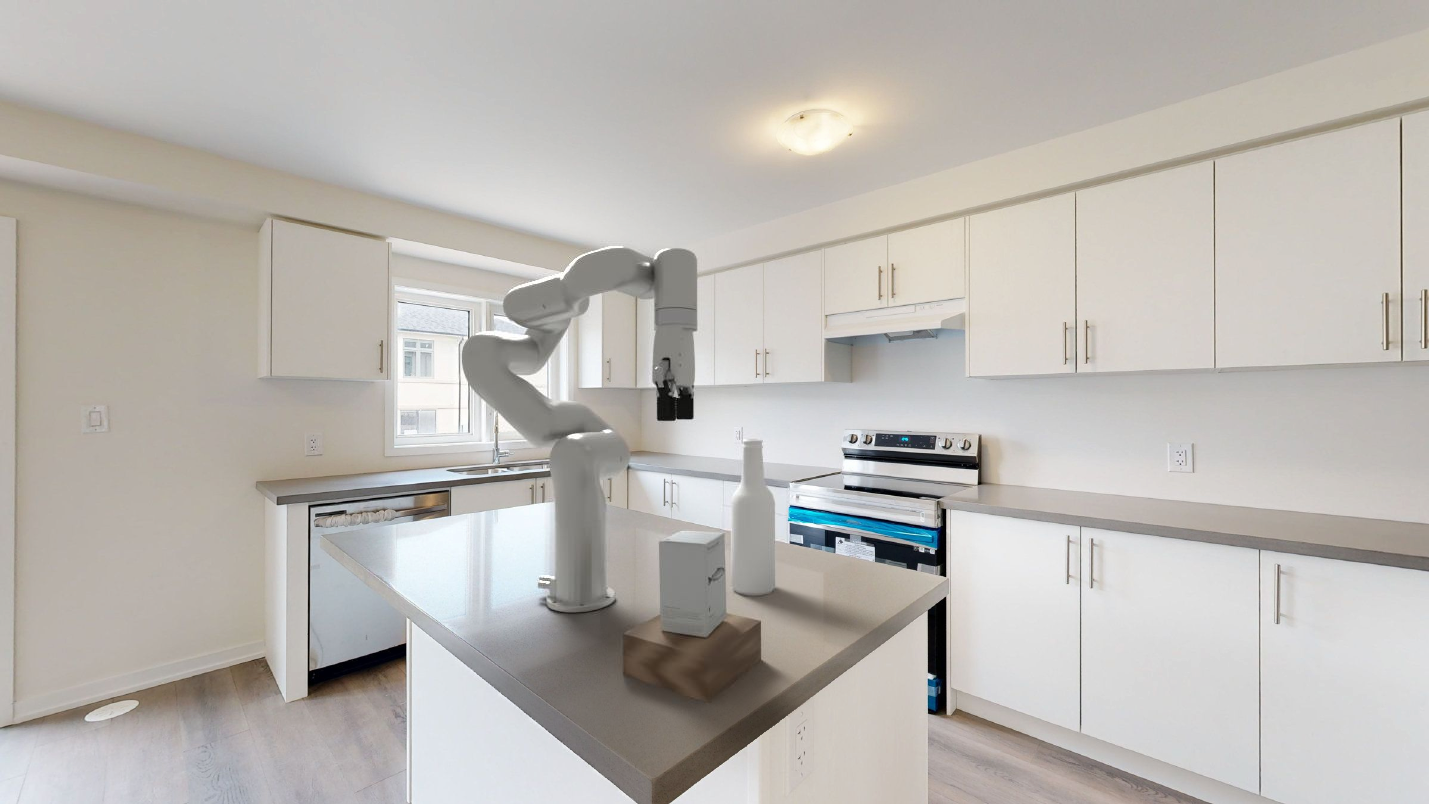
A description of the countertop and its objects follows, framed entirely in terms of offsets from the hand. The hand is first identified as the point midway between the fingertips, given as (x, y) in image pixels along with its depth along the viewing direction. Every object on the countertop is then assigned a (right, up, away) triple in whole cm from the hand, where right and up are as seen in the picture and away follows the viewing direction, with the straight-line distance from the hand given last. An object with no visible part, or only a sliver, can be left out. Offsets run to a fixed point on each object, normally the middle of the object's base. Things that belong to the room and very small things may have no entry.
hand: (676, 420), depth 97 cm
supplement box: (+4, -29, -18) cm, 34 cm away
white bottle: (+14, -35, +15) cm, 40 cm away
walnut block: (+4, -35, -18) cm, 39 cm away
